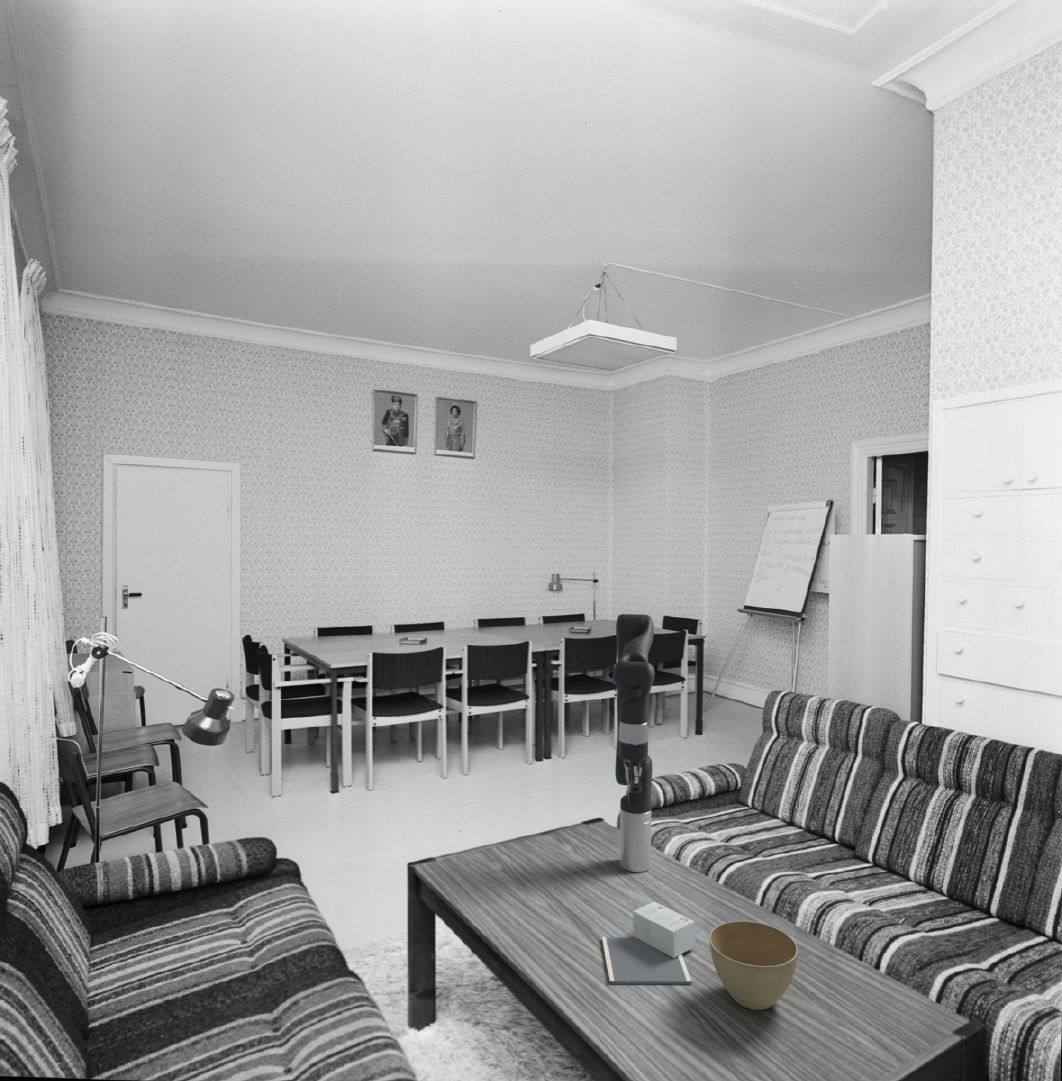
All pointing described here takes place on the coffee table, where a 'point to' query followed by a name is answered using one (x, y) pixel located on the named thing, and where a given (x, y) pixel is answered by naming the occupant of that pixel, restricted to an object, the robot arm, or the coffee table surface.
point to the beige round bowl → (753, 962)
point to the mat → (641, 963)
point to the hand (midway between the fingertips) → (633, 805)
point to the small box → (664, 929)
